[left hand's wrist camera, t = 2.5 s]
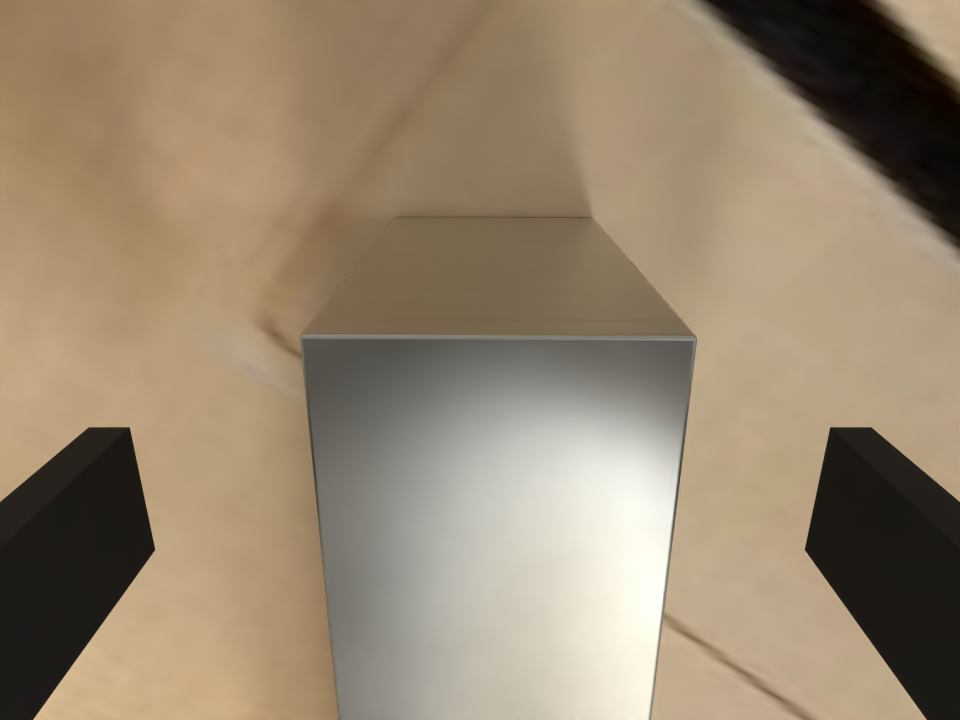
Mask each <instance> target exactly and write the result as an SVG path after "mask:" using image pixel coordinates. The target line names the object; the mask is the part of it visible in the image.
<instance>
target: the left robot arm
mask: <svg viewBox="0 0 960 720" xmlns="http://www.w3.org/2000/svg"><path fill="white" fill-rule="evenodd" d="M154 551H155V547H154V542H153V537H152V532H151V528H150V523H149V518H148V513H147V508H146V504H145V499H144V494H143V489H142V484H141V480H140V475H139V470H138V465H137V460H136V456H135V451H134V446H133V441H132V436H131V432H130V427H89V428H88V429H86V430H85V431H84V432H83V433H82V434H80V435H79V436H78V437H77V438H76V439H74V440H73V441H72V442H71V443H70V444H69V445H67V446H66V447H65V448H64V449H63V450H61V451H60V452H59V453H58V454H57V455H56V456H54V457H53V458H52V459H51V460H50V461H48V462H47V463H46V464H45V465H44V466H42V467H41V468H40V469H39V470H38V471H37V472H35V473H34V474H33V475H32V476H31V477H29V478H28V479H27V480H26V481H25V482H23V483H22V484H21V485H20V486H19V487H18V488H16V489H15V490H14V491H13V492H12V493H10V494H9V495H8V496H7V497H6V498H4V499H3V500H2V501H1V502H0V720H33V719H34V718H35V716H36V715H37V714H38V712H39V711H40V709H41V708H42V707H43V705H44V704H45V702H46V701H47V700H48V698H49V697H50V695H51V694H52V693H53V691H54V690H55V689H56V687H57V686H58V684H59V683H60V682H61V680H62V679H63V677H64V676H65V675H66V673H67V672H68V670H69V669H70V668H71V666H72V665H73V663H74V662H75V661H76V659H77V658H78V657H79V655H80V654H81V652H82V651H83V650H84V648H85V647H86V645H87V644H88V643H89V641H90V640H91V638H92V637H93V636H94V634H95V633H96V631H97V630H98V629H99V627H100V626H101V624H102V623H103V622H104V620H105V619H106V618H107V616H108V615H109V613H110V612H111V611H112V609H113V608H114V606H115V605H116V604H117V602H118V601H119V599H120V598H121V597H122V595H123V594H124V592H125V591H126V590H127V588H128V587H129V586H130V584H131V583H132V581H133V580H134V579H135V577H136V576H137V574H138V573H139V572H140V570H141V569H142V567H143V566H144V565H145V563H146V562H147V560H148V559H149V558H150V556H151V555H152V554H153V552H154ZM805 551H806V552H807V554H808V555H809V556H810V558H811V559H812V560H813V562H814V563H815V565H816V566H817V567H818V569H819V570H820V572H821V573H822V574H823V576H824V577H825V579H826V580H827V581H828V583H829V584H830V586H831V587H832V588H833V590H834V591H835V592H836V594H837V595H838V597H839V598H840V599H841V601H842V602H843V604H844V605H845V606H846V608H847V609H848V611H849V612H850V613H851V615H852V616H853V618H854V619H855V620H856V622H857V623H858V624H859V626H860V627H861V629H862V630H863V631H864V633H865V634H866V636H867V637H868V638H869V640H870V641H871V643H872V644H873V645H874V647H875V648H876V650H877V651H878V652H879V654H880V655H881V657H882V658H883V659H884V661H885V662H886V663H887V665H888V666H889V668H890V669H891V670H892V672H893V673H894V675H895V676H896V677H897V679H898V680H899V682H900V683H901V684H902V686H903V687H904V689H905V690H906V691H907V693H908V694H909V695H910V697H911V698H912V700H913V701H914V702H915V704H916V705H917V707H918V708H919V709H920V711H921V712H922V714H923V715H924V716H925V718H926V719H927V720H960V502H959V501H958V500H957V499H956V498H954V497H953V496H952V495H951V494H950V493H948V492H947V491H946V490H945V489H944V488H942V487H941V486H940V485H939V484H938V483H937V482H935V481H934V480H933V479H932V478H931V477H929V476H928V475H927V474H926V473H925V472H923V471H922V470H921V469H920V468H919V467H918V466H916V465H915V464H914V463H913V462H912V461H910V460H909V459H908V458H907V457H906V456H904V455H903V454H902V453H901V452H900V451H899V450H897V449H896V448H895V447H894V446H893V445H891V444H890V443H889V442H888V441H887V440H886V439H884V438H883V437H882V436H881V435H880V434H878V433H877V432H876V431H875V430H874V429H872V428H871V427H830V432H829V436H828V441H827V446H826V451H825V456H824V460H823V465H822V470H821V475H820V480H819V484H818V489H817V494H816V499H815V504H814V508H813V513H812V518H811V523H810V528H809V532H808V537H807V542H806V547H805Z"/></svg>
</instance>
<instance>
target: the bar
mask: <svg viewBox="0 0 960 720" xmlns="http://www.w3.org/2000/svg"><path fill="white" fill-rule="evenodd" d="M300 344H301V354H302V363H303V373H304V383H305V393H306V403H307V413H308V423H309V433H310V443H311V453H312V462H313V472H314V482H315V492H316V502H317V512H318V522H319V532H320V542H321V552H322V561H323V571H324V581H325V591H326V601H327V611H328V621H329V631H330V641H331V651H332V661H333V670H334V680H335V690H336V700H337V710H338V720H651V713H652V705H653V697H654V688H655V680H656V672H657V664H658V656H659V647H660V639H661V631H662V623H663V614H664V606H665V598H666V590H667V582H668V573H669V565H670V557H671V549H672V541H673V532H674V524H675V516H676V508H677V500H678V491H679V483H680V475H681V467H682V459H683V450H684V442H685V434H686V426H687V418H688V409H689V401H690V393H691V385H692V377H693V368H694V360H695V352H696V344H697V338H696V336H695V335H694V333H693V332H692V331H691V330H690V329H689V328H688V326H687V325H686V324H685V323H684V322H683V321H682V320H681V318H680V317H679V316H678V315H677V314H676V313H675V311H674V310H673V309H672V308H671V307H670V306H669V305H668V303H667V302H666V301H665V300H664V299H663V298H662V297H661V295H660V294H659V293H658V292H657V291H656V290H655V288H654V287H653V286H652V285H651V284H650V283H649V282H648V280H647V279H646V278H645V277H644V276H643V275H642V273H641V272H640V271H639V270H638V269H637V268H636V267H635V265H634V264H633V263H632V262H631V261H630V260H629V259H628V257H627V256H626V255H625V254H624V253H623V252H622V250H621V249H620V248H619V247H618V246H617V245H616V244H615V242H614V241H613V240H612V239H611V238H610V237H609V235H608V234H607V233H606V232H605V231H604V230H603V229H602V227H601V226H600V225H599V224H598V223H597V222H596V220H595V219H594V218H465V217H396V218H394V220H393V221H392V222H391V223H390V225H389V226H388V227H387V228H386V230H385V231H384V232H383V233H382V235H381V236H380V237H379V238H378V240H377V241H376V242H375V243H374V244H373V246H372V247H371V248H370V249H369V251H368V252H367V253H366V254H365V256H364V257H363V258H362V259H361V261H360V262H359V263H358V264H357V266H356V267H355V268H354V269H353V271H352V272H351V273H350V274H349V275H348V277H347V278H346V279H345V280H344V282H343V283H342V284H341V285H340V287H339V288H338V289H337V290H336V292H335V293H334V294H333V295H332V297H331V298H330V299H329V300H328V301H327V303H326V304H325V305H324V306H323V308H322V309H321V310H320V311H319V313H318V314H317V315H316V316H315V318H314V319H313V320H312V321H311V323H310V324H309V325H308V326H307V328H306V329H305V330H304V331H303V332H302V334H301V336H300Z"/></svg>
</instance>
